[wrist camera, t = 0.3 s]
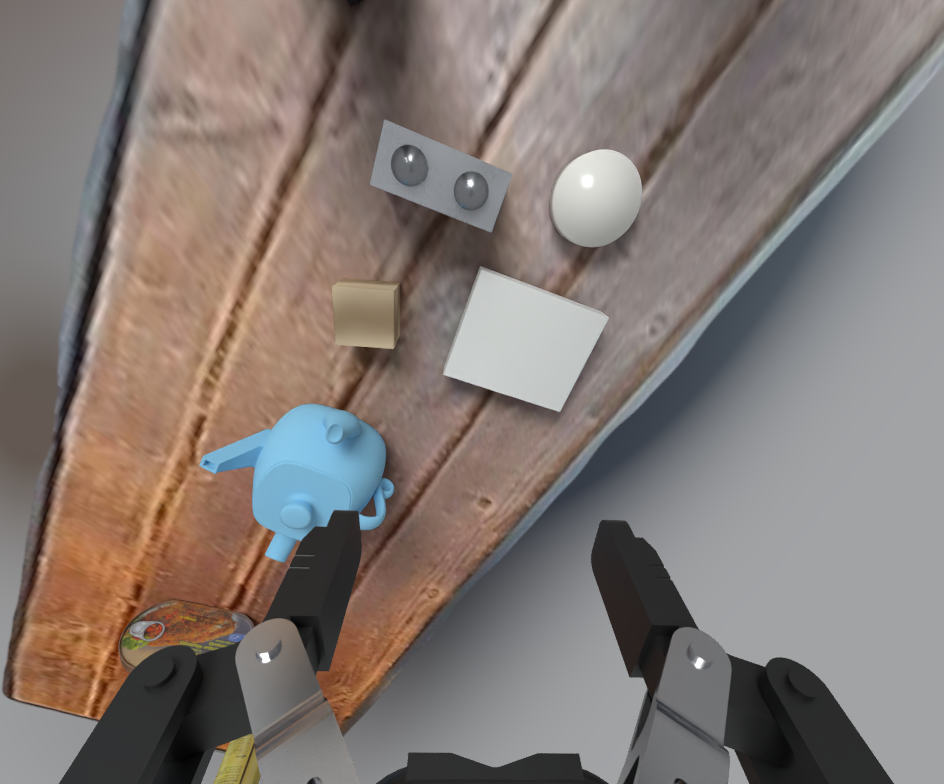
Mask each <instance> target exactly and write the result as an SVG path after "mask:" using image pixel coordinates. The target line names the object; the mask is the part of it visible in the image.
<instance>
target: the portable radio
mask: <svg viewBox="0 0 944 784" xmlns="http://www.w3.org/2000/svg"><path fill="white" fill-rule="evenodd" d="M347 1H348V3H349V4H350V5H352V4H355V3H357V2H360V1H362V0H347Z"/></svg>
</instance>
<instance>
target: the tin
mask: <svg viewBox="0 0 944 784" xmlns="http://www.w3.org/2000/svg"><path fill="white" fill-rule="evenodd" d="M254 627H255V626H254V624H253V622H252V621H251V620H250V618H249V617H247V616H246V615H244V614H243V613H240V612H237V611H232V610H227V609H222V608H216V607H211V606H206V605H202V604H197V603H192V602H187V601H182V600H170V601H164V602H161V603H158V604H155V605H153V606H151V607H149V608H147V609H145V610H143V611H142V612H141V613H139V614H138V615H137V616H136V617H134V618H133V619H132V620H131V621H130V622H129V624H128V625H127V626H126V628H125V629H124V631H123V633H122V635H121V637H120V640H119V654H120V658H121V662H122V665H123V667H124V668H125V669H126V670H127V671H128V672H129V673H131V672H132V671H133V670H134V668H135V667H136V666H137V665H138V664H139V663H141V662H142V661H143V660H144V659H146V658H147V657H148V656H150V655H151V654H153V653H155V652H157V651H159V650H161V649H163V648H166V647H169V646H174V645H185V646H188V647H190V648H192V649H193V650H194V652H195V654H196V655H199V654H202V653H206V652H209V651H212V650H216V649H219V648H223V647H226V646H229V645H232V644H235V643H237V642H239V641H241V640H242V639H243V638H244V637H245V635H246V634H247V633H248V632H249V631H250V630H252V629H253V628H254Z"/></svg>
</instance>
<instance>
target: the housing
mask: <svg viewBox="0 0 944 784" xmlns="http://www.w3.org/2000/svg"><path fill="white" fill-rule="evenodd" d="M511 177H512V173H510V172H507V171H505V170H502V169H500V168H498V167H495V166H493V165H491V164H488V163H486V162H484V161H481V160H479V159H477V158H474V157H472V156H470V155H467V154H465V153H463V152H460V151H458V150H456V149H453V148H451V147H449V146H446V145H444V144H442V143H439V142H437V141H435V140H432V139H430V138H428V137H425V136H423V135H421V134H418V133H416V132H414V131H411V130H409V129H407V128H404V127H402V126H399V125H397V124H395V123H392V122H390V121H388V120H385V119H384V123H383V127H382V132H381V136H380V141H379V145H378V150H377V154H376V159H375V163H374V167H373V172H372V176H371V181H370V185H372V186H374V187H377V188H379V189H382V190H384V191H387V192H389V193H392V194H394V195H397V196H400V197H402V198H405V199H407V200H410V201H412V202H415V203H417V204H420V205H422V206H425V207H427V208H430V209H432V210H435V211H437V212H440V213H443V214H445V215H448V216H450V217H453V218H455V219H458V220H460V221H463V222H465V223H468V224H470V225H473V226H475V227H478V228H481V229H483V230H486V231H488V232H492V230H493V227H494V224H495V221H496V218H497V216H498V213H499V210H500V207H501V204H502V202H503V199H504V196H505V193H506V190H507V188H508V185H509V182H510V179H511Z"/></svg>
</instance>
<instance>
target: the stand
mask: <svg viewBox="0 0 944 784" xmlns="http://www.w3.org/2000/svg"><path fill="white" fill-rule="evenodd" d="M608 319H609V317H608V316H606V315H605V314H604V313H602V312H601V311H598V310H596V309H593V308H590V307H588V306H585V305H583V304H580V303H577V302H575V301H572V300H569V299H567V298H564V297H561V296H559V295H556V294H553V293H551V292H548V291H545V290H543V289H540V288H538V287H535V286H532V285H530V284H527V283H524V282H522V281H519V280H516V279H514V278H511V277H508V276H506V275H503V274H500V273H498V272H495V271H493V270H490V269H487V268H485V267H482V266H480V268H479V270H478V273H477V276H476V279H475V282H474V284H473V287H472V290H471V293H470V296H469V298H468V301H467V304H466V307H465V309H464V312H463V315H462V318H461V321H460V323H459V326H458V329H457V332H456V335H455V337H454V340H453V343H452V346H451V349H450V351H449V354H448V357H447V360H446V363H445V365H444V374H443V375H446V376H449V377H452V378H455V379H458V380H461V381H464V382H468V383H471V384H474V385H477V386H480V387H483V388H486V389H489V390H492V391H496V392H499V393H502V394H505V395H508V396H511V397H514V398H517V399H520V400H524V401H527V402H530V403H533V404H536V405H539V406H542V407H545V408H549V409H552V410H555V411H558V412H560V411H561V409H562V407H563V405H564V403H565V401H566V399H567V398H568V396H569V394H570V392H571V390H572V388H573V386H574V384H575V382H576V380H577V378H578V376H579V374H580V373H581V371H582V369H583V367H584V365H585V363H586V361H587V359H588V357H589V355H590V353H591V351H592V349H593V348H594V346H595V344H596V342H597V340H598V338H599V336H600V334H601V332H602V330H603V328H604V326H605V324H606V323H607V321H608Z"/></svg>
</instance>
